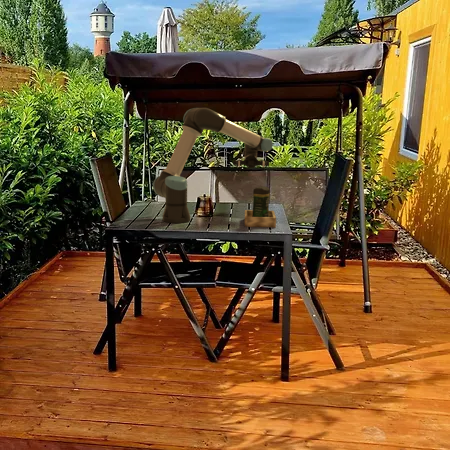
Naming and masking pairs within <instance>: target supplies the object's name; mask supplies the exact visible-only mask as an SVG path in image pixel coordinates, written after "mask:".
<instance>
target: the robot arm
mask: <svg viewBox="0 0 450 450" xmlns="http://www.w3.org/2000/svg"><path fill="white" fill-rule="evenodd" d="M182 121H183V125H182V126H181V127H182V129H183V130H182V133H181V135H180V137H179V140H178V142H177V144H176V146H175V148H174V150H173V153H172V155H171V157H170V159H169V161H168V163H167V165H166V168H164V169H162V170H161V172H160V173H159V175H158V176H157V177H155V179H154V180H153V183H152V189H153V191H154V193H155V194H156V195H157V196H159V197H161V198H165V205H164V206H165V207H164V211H163V213H162V219H161V220H162V222H164V223H168V224H169V223H171V224H181V223H188V222H190V221H191V214H190V210H189V208H188V181H187V179H186V177H183V176H181V174H182V173H183V172H182V171H183V169H184V167H185V164H186V162H187V161H188V158H189V156H190V154H191V152H192V149H193V147H194V145H195V143H196V140H197V139H198V137H201V136H202V135H203V132H204V131H205V130H207V131H211V132H214V133H221V134H224V135H225V136H228V137H231V138H233V139H235V140H237V141H239V142H241V143H243V144H244V159H238V160H233V162H232V164H233V166H236V168H237V167H239V168H240V166H245V167H246V168H248V169H254V168H255V167H257V166H261V167H262V168H265V167H266V166H267V167H269V166H270V161H267V159H264V160H263V159H260V160H259V159H258V151H260V152H264V153H265V152H269V151H271V150H272V149H273V145H274V144H273V141H272V139H271V138H269V137H263V136H262V135H259V134H257V133H255V132H253V131H250V130H249V129H246V128H244V127H243V126H240V125H238V124H236V123H234V122H232V121H230V120H228V119H226V116H224V115H222V114H220V113H218V112H216V111H215V110H212V109H210V108H208V107H193V108H190V109H188V110H186V112H185V113H184V115H183V119H182Z"/></svg>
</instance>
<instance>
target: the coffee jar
mask: <svg viewBox="0 0 450 450" xmlns="http://www.w3.org/2000/svg"><path fill="white" fill-rule="evenodd" d="M252 191H253V192H252V196H253V197H252V198H253V202H252V210H253V214H252V217H269V211H270V195H271V194H270V192H271V190H270V188H269V186H261V185H260V186H258V187H255V188H253V190H252Z"/></svg>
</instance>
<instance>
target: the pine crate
mask: <svg viewBox="0 0 450 450" xmlns="http://www.w3.org/2000/svg"><path fill="white" fill-rule="evenodd" d="M252 214H253V209H251V210H250V209H245V210H244V227H247V228H277V217H276V213H275V210H269V217H252Z"/></svg>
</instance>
